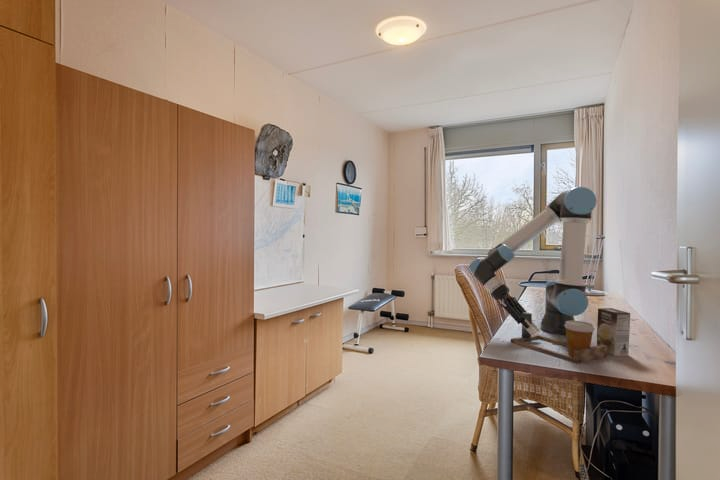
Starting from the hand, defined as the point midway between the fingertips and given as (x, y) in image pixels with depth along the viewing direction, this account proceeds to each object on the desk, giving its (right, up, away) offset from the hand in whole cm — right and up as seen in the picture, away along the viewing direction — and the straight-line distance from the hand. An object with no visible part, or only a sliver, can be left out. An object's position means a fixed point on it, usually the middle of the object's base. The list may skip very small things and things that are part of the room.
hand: (536, 333), depth 154 cm
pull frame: (+3, -4, -9) cm, 10 cm away
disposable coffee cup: (+7, -4, -17) cm, 19 cm away
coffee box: (+24, -5, -11) cm, 27 cm away
